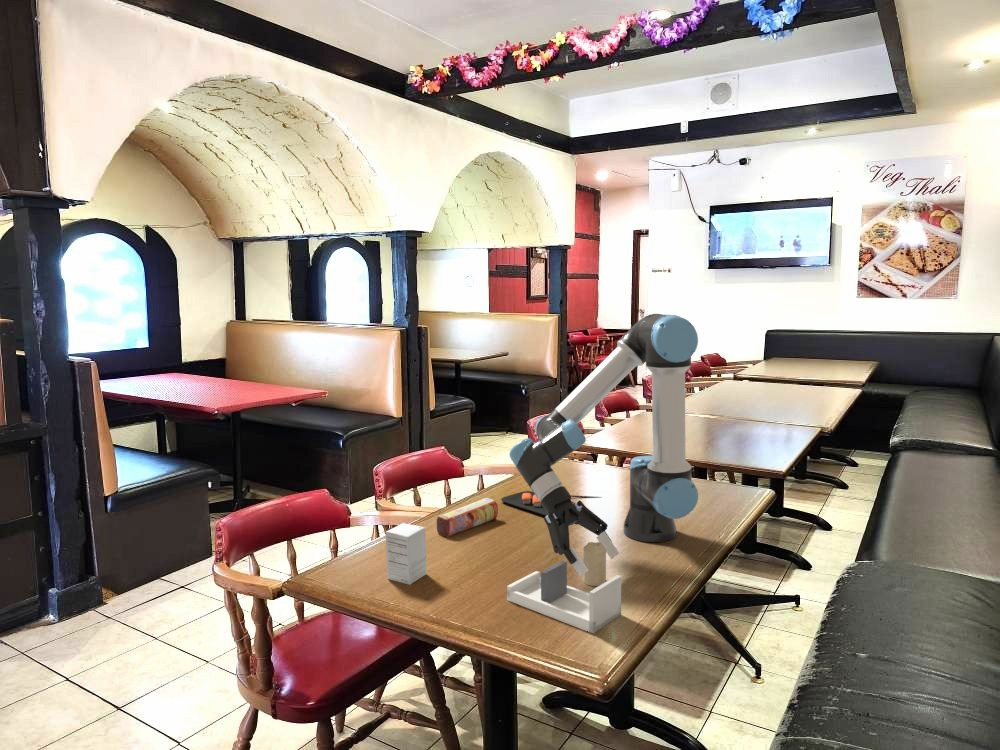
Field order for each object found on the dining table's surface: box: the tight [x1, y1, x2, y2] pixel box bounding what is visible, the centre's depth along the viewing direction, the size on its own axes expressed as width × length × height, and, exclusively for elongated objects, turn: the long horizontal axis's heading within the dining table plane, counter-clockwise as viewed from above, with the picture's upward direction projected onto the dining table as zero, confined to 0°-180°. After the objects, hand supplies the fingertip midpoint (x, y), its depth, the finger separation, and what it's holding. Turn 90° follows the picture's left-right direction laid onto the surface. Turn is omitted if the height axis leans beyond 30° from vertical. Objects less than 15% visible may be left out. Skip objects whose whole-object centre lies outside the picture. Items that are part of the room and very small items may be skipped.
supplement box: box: [385, 522, 428, 585], centre depth 172 cm, size 7×7×13 cm
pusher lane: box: [506, 570, 622, 634], centre depth 155 cm, size 11×24×9 cm, turn 48°
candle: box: [582, 541, 607, 587], centre depth 168 cm, size 6×6×10 cm
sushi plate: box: [500, 490, 603, 517], centre depth 230 cm, size 29×30×4 cm
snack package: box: [436, 497, 499, 538], centre depth 208 cm, size 21×7×7 cm, turn 137°
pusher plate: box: [540, 560, 568, 603], centre depth 156 cm, size 8×1×8 cm, turn 138°
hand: (600, 564), depth 167 cm, fingers open, 13 cm apart
